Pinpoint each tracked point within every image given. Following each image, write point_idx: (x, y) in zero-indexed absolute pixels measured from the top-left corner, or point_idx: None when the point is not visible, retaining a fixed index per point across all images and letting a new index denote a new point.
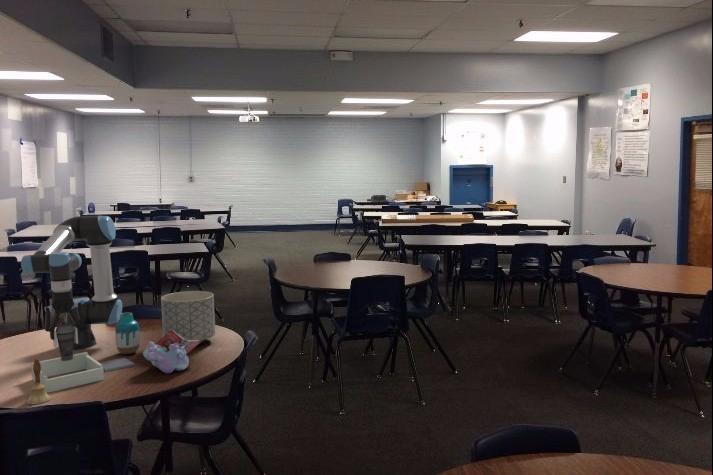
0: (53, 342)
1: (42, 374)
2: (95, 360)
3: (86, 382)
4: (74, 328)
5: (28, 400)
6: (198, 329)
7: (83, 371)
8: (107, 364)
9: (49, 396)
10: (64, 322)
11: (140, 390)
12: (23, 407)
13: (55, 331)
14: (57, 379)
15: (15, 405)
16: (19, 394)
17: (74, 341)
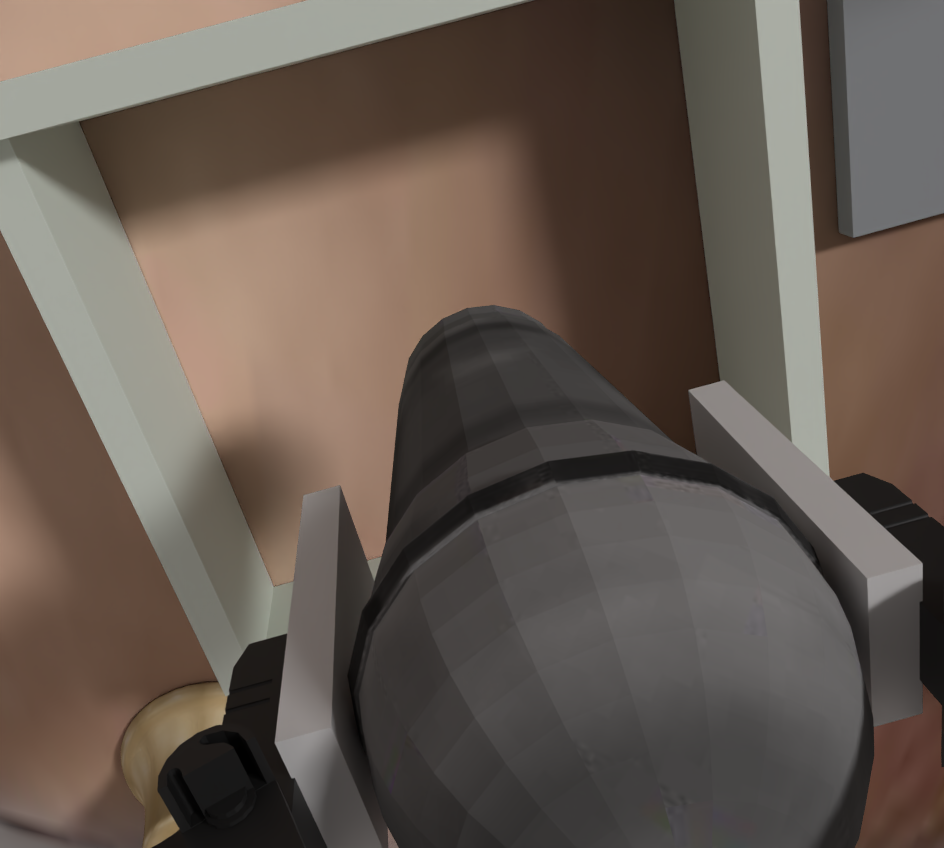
0: (300, 544)
1: (193, 595)
2: (814, 311)
3: None
4: (863, 664)
5: (140, 798)
6: None
7: None
8: (926, 19)
9: None
10: (705, 845)
11: (908, 804)
12: (123, 844)
13: (364, 818)
14: None
15: (45, 791)
16: (5, 558)
17: (697, 409)
